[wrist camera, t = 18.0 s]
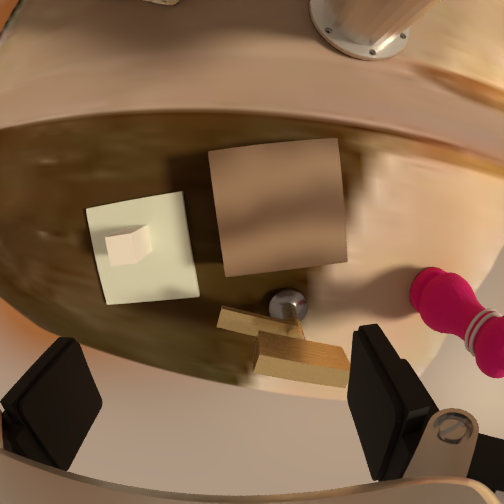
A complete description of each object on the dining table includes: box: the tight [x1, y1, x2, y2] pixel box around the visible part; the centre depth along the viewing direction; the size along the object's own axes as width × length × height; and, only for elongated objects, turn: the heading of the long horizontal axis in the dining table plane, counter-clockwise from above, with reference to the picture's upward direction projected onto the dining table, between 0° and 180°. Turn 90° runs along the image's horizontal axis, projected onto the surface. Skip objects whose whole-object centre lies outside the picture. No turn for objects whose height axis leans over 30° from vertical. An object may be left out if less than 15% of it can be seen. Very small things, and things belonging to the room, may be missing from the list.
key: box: [217, 303, 350, 388], centre depth 30 cm, size 12×2×12 cm, turn 75°
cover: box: [86, 191, 200, 305], centre depth 33 cm, size 12×12×6 cm
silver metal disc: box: [269, 288, 307, 321], centre depth 36 cm, size 4×4×1 cm
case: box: [208, 138, 347, 277], centre depth 31 cm, size 12×12×5 cm
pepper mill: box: [410, 267, 504, 378], centre depth 27 cm, size 7×7×20 cm
